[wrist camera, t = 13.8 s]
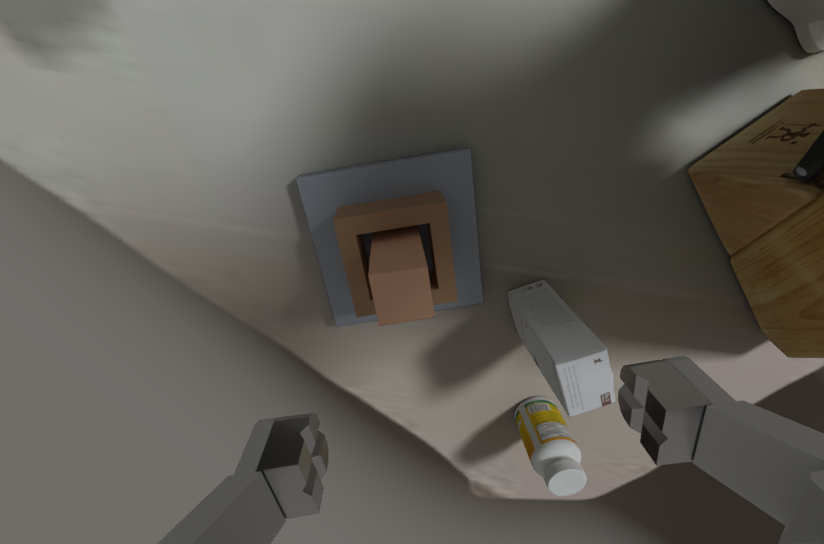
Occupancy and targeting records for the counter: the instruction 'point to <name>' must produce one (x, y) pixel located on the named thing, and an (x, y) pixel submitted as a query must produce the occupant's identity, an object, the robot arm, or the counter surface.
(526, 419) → the supplement bottle
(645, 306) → the counter surface
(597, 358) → the skincare box
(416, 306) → the terracotta peg
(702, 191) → the knife block
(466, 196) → the collar socket
